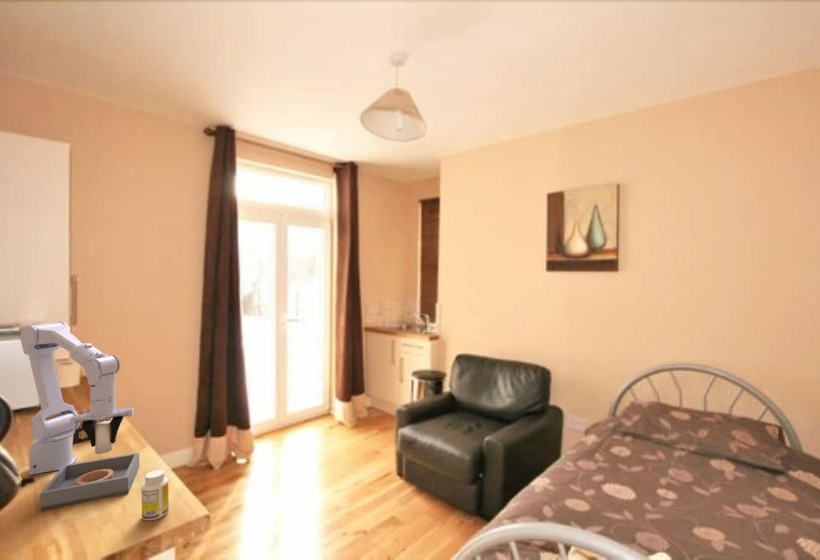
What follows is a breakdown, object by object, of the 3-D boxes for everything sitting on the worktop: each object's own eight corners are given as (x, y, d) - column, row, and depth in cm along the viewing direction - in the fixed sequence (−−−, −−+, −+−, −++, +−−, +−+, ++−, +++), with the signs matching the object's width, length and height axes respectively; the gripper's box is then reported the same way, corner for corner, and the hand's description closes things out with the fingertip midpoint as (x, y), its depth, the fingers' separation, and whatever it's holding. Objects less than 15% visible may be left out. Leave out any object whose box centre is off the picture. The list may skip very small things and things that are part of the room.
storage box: (40, 511, 97) (40, 493, 97) (63, 480, 112) (63, 465, 112) (128, 493, 105) (128, 477, 105) (139, 467, 119) (139, 452, 119)
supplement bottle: (164, 505, 100) (163, 465, 100) (172, 513, 96) (171, 472, 96) (138, 515, 96) (138, 474, 95) (145, 525, 92) (145, 482, 92)
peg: (93, 454, 112) (93, 427, 112) (97, 449, 116) (96, 422, 115) (110, 452, 114) (110, 424, 114) (114, 446, 117) (113, 420, 117)
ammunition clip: (73, 444, 136) (72, 410, 136) (72, 442, 137) (72, 408, 137) (111, 435, 143) (111, 403, 143) (111, 434, 144) (110, 401, 144)
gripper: (66, 405, 108) (67, 454, 108) (130, 398, 114) (131, 444, 114) (74, 398, 114) (75, 444, 114) (134, 391, 120) (135, 435, 120)
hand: (103, 443), depth 115 cm, fingers closed on peg, 4 cm apart
